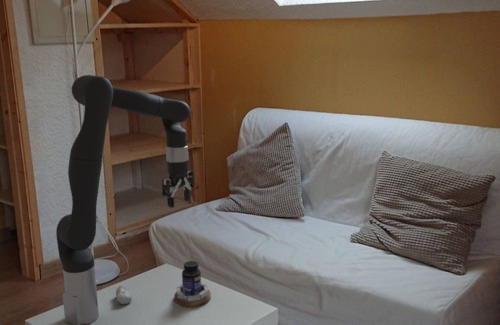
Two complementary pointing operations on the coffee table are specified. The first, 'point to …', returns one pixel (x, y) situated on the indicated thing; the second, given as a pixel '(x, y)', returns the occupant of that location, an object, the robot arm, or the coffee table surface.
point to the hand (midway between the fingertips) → (179, 203)
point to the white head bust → (123, 295)
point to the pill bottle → (191, 278)
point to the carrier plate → (191, 304)
